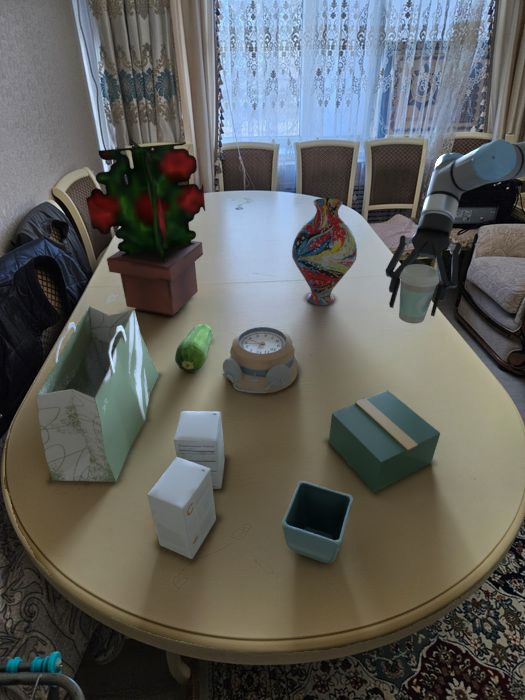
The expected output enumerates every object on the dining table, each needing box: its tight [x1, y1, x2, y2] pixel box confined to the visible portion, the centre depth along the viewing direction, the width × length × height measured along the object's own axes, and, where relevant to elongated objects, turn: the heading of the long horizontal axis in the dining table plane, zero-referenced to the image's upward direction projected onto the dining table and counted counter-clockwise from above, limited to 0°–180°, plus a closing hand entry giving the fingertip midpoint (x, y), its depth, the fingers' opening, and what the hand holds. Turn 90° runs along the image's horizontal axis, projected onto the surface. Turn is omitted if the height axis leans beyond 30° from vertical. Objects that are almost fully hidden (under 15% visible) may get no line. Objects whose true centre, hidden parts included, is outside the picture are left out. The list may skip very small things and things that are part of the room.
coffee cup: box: [398, 263, 440, 325], centre depth 103 cm, size 8×8×12 cm
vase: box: [291, 197, 358, 306], centre depth 132 cm, size 19×19×30 cm
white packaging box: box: [173, 410, 226, 490], centre depth 80 cm, size 7×7×13 cm
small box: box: [146, 456, 217, 560], centre depth 70 cm, size 8×6×13 cm
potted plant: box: [85, 139, 206, 317], centre depth 125 cm, size 22×22×45 cm
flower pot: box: [281, 480, 354, 564], centre depth 69 cm, size 9×9×9 cm
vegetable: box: [174, 323, 214, 372], centre depth 114 cm, size 7×7×20 cm
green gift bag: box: [36, 305, 160, 483], centre depth 89 cm, size 32×14×23 cm, turn 178°
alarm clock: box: [222, 326, 299, 394], centre depth 105 cm, size 17×9×23 cm
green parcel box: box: [328, 389, 441, 493], centre depth 86 cm, size 14×14×8 cm
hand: (411, 309), depth 102 cm, fingers closed on coffee cup, 8 cm apart
